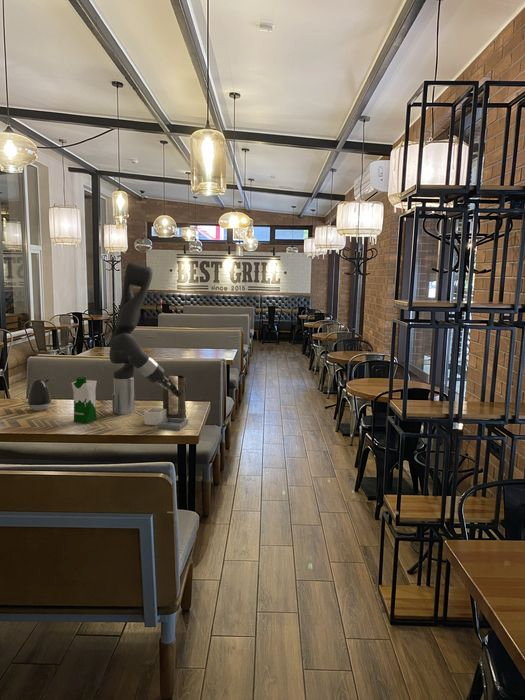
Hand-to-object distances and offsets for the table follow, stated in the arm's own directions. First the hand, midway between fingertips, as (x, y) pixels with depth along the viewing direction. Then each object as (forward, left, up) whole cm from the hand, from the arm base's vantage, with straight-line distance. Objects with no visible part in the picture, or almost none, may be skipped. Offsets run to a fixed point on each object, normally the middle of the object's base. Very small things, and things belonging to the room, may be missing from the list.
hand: (177, 394), depth 208 cm
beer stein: (-6, +14, -15) cm, 21 cm away
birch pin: (-1, -1, -8) cm, 8 cm away
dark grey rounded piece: (-73, +8, -15) cm, 75 cm away
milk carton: (-42, -3, -15) cm, 45 cm away
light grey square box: (-11, +2, -14) cm, 18 cm away
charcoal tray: (-1, -1, -14) cm, 14 cm away
